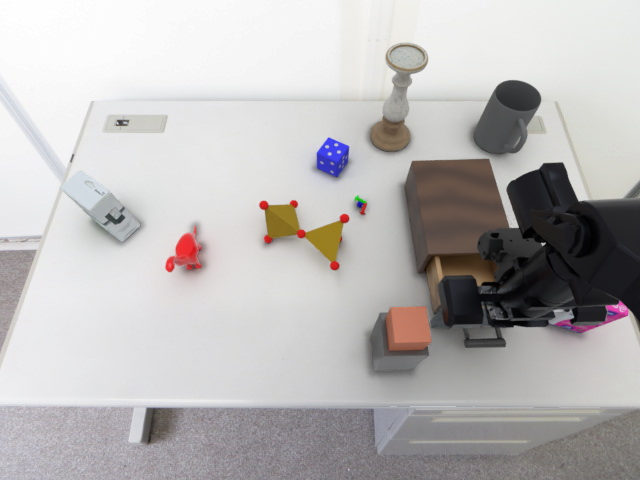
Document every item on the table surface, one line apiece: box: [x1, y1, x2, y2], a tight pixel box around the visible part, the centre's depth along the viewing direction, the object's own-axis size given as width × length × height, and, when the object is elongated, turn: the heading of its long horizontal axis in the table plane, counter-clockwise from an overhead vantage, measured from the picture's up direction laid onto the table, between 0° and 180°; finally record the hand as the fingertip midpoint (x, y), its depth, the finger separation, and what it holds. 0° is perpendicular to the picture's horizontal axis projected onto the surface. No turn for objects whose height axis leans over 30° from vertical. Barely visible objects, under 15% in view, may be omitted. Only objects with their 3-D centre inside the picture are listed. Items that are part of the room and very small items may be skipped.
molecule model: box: [258, 194, 368, 272], centre depth 69 cm, size 16×18×12 cm
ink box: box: [58, 169, 141, 243], centre depth 69 cm, size 9×5×12 cm, turn 54°
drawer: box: [426, 255, 507, 349], centre depth 64 cm, size 23×13×6 cm, turn 1°
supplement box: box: [548, 301, 629, 334], centre depth 60 cm, size 6×6×12 cm
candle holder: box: [370, 42, 429, 152], centre depth 75 cm, size 9×9×20 cm
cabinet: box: [403, 158, 511, 274], centre depth 70 cm, size 20×15×8 cm
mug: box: [473, 79, 542, 155], centre depth 77 cm, size 14×9×12 cm
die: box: [316, 137, 350, 178], centre depth 79 cm, size 5×5×5 cm
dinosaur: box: [164, 224, 203, 273], centre depth 65 cm, size 4×15×12 cm, turn 8°
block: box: [386, 305, 433, 351], centre depth 49 cm, size 5×5×5 cm
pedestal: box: [370, 311, 430, 372], centre depth 57 cm, size 6×6×12 cm
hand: (492, 318), depth 53 cm, fingers closed
